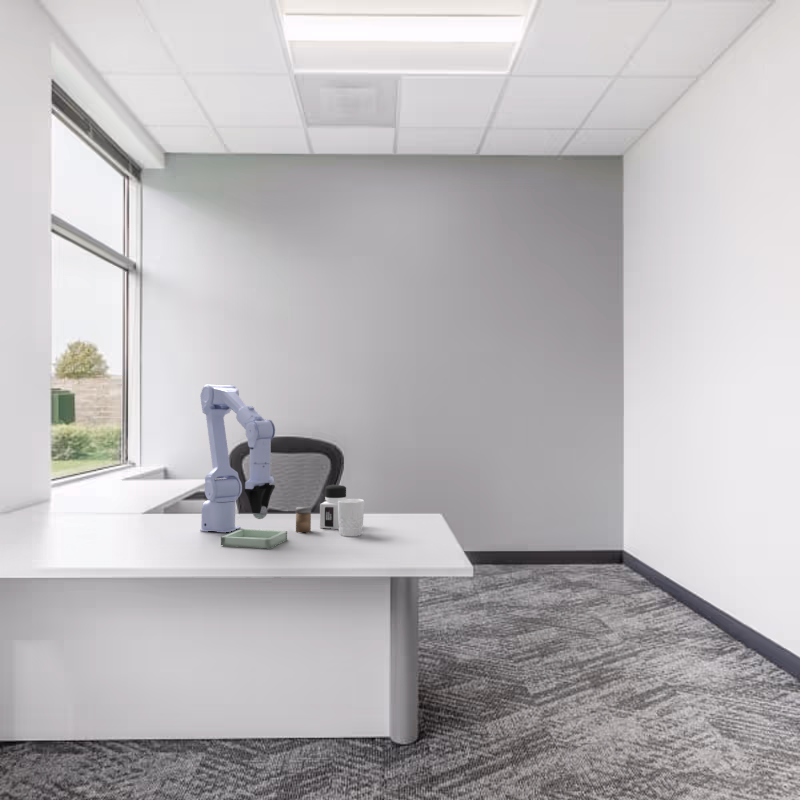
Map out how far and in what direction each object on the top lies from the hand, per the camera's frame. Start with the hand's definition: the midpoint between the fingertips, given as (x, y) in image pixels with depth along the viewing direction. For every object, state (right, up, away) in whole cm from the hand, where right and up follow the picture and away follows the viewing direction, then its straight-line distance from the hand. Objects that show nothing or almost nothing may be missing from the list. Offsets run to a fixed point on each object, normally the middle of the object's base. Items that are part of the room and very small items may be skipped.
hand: (259, 511), depth 178 cm
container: (+19, -9, +22) cm, 30 cm away
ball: (0, -2, 0) cm, 2 cm away
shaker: (+10, -8, +14) cm, 19 cm away
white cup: (+25, -9, +10) cm, 28 cm away
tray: (-1, -8, -3) cm, 8 cm away
